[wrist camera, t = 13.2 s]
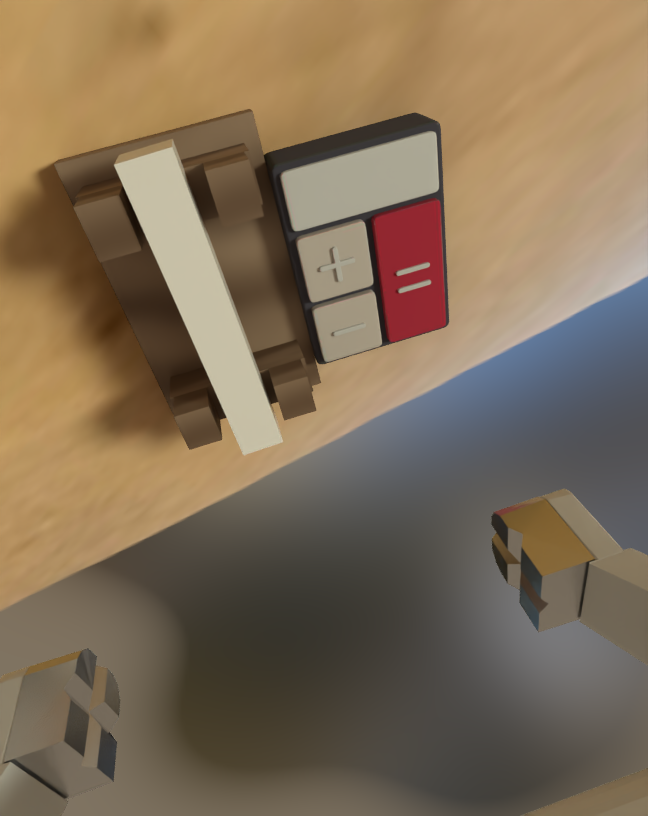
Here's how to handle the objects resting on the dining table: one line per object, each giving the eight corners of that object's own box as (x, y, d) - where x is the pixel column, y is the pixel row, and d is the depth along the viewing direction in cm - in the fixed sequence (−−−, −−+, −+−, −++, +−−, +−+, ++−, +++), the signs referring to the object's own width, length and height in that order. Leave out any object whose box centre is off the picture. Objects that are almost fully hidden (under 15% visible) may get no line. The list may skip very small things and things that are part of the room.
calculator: (320, 372, 40) (271, 169, 31) (308, 344, 44) (260, 153, 34) (454, 331, 41) (446, 121, 32) (432, 307, 44) (419, 110, 35)
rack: (58, 160, 32) (32, 184, 26) (249, 108, 32) (264, 121, 27) (178, 415, 43) (179, 470, 38) (317, 373, 44) (337, 421, 39)
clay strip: (119, 154, 28) (113, 164, 26) (172, 138, 28) (172, 146, 26) (239, 430, 40) (243, 455, 38) (276, 418, 40) (283, 442, 38)
